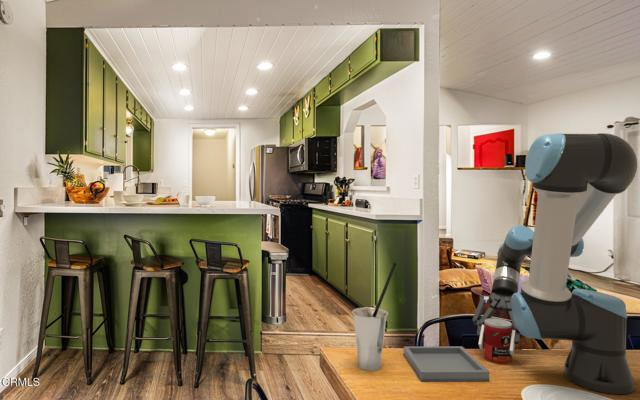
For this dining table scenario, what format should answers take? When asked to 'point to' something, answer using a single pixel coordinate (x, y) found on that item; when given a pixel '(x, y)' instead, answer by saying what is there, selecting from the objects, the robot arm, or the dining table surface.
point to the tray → (445, 364)
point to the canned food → (497, 340)
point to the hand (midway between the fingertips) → (495, 349)
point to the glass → (371, 332)
